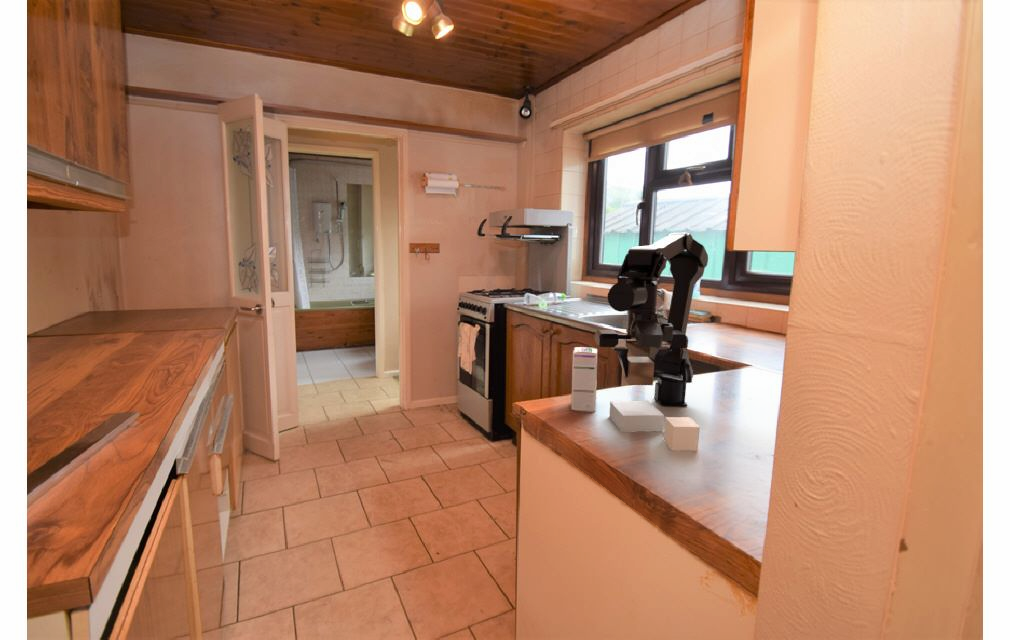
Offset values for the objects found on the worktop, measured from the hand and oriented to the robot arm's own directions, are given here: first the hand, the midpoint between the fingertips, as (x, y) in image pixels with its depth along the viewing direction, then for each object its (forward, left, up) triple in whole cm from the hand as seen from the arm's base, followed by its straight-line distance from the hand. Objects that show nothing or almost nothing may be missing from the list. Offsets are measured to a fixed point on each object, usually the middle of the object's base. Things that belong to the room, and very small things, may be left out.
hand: (638, 377), depth 102 cm
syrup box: (+10, -10, -11) cm, 18 cm away
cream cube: (-6, +11, -11) cm, 17 cm away
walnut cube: (0, 0, -1) cm, 1 cm away
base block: (0, 0, -11) cm, 11 cm away
